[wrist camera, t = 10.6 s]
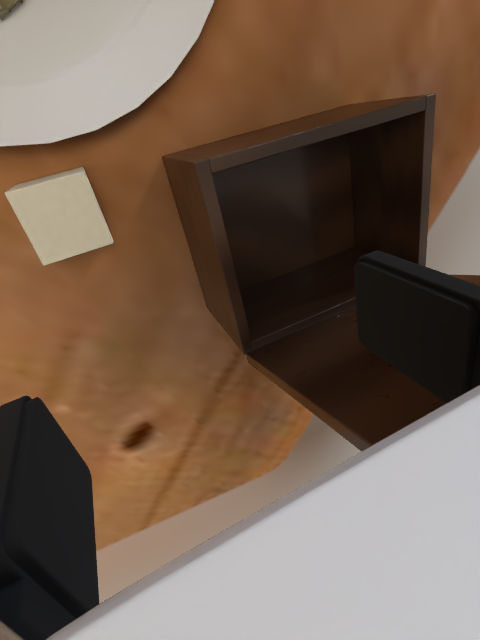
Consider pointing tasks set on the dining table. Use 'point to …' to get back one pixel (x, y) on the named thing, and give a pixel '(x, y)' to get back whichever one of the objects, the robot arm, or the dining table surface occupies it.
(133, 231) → the dining table surface
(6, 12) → the plated food
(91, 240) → the block
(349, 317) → the lid
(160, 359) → the dining table surface
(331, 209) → the chest
